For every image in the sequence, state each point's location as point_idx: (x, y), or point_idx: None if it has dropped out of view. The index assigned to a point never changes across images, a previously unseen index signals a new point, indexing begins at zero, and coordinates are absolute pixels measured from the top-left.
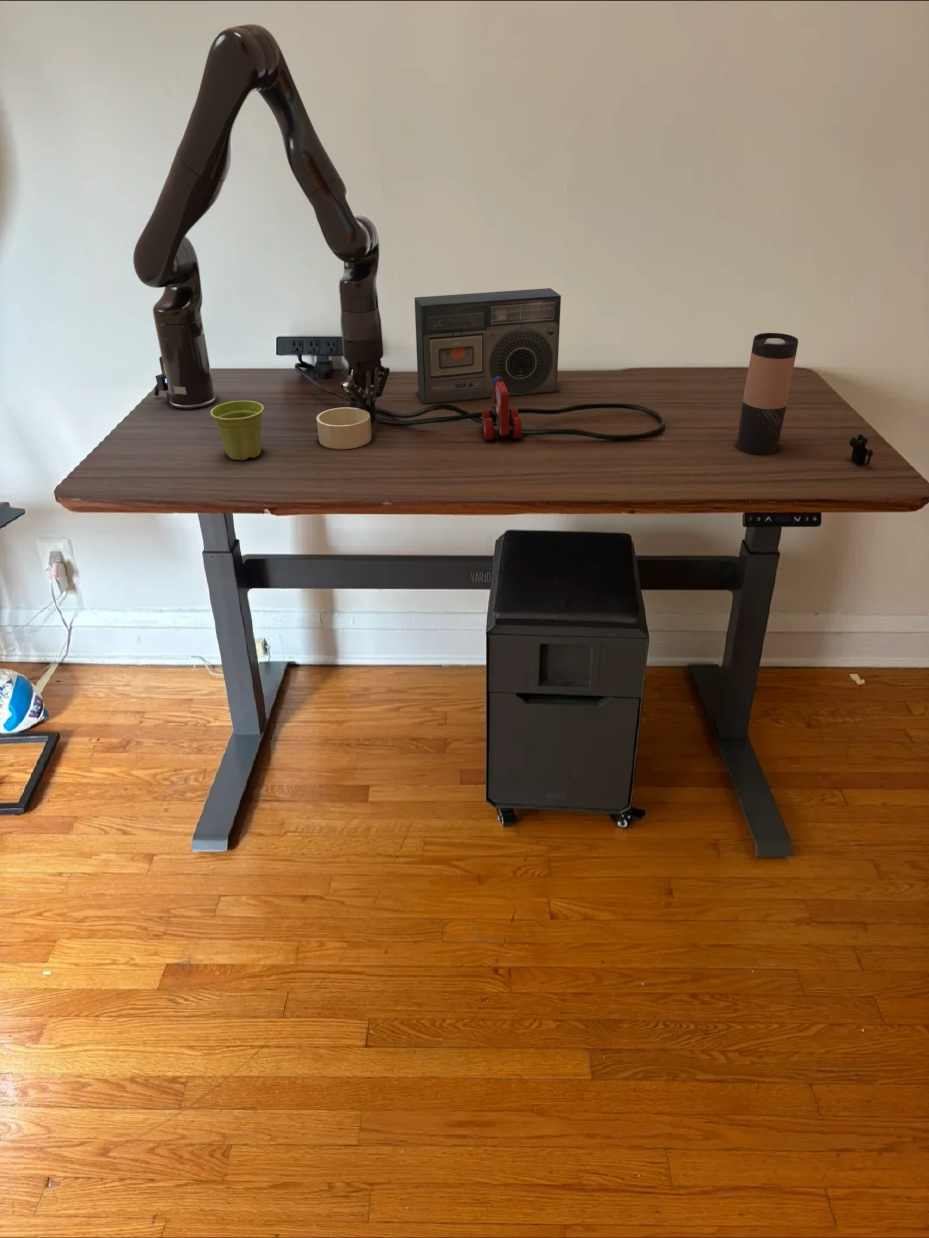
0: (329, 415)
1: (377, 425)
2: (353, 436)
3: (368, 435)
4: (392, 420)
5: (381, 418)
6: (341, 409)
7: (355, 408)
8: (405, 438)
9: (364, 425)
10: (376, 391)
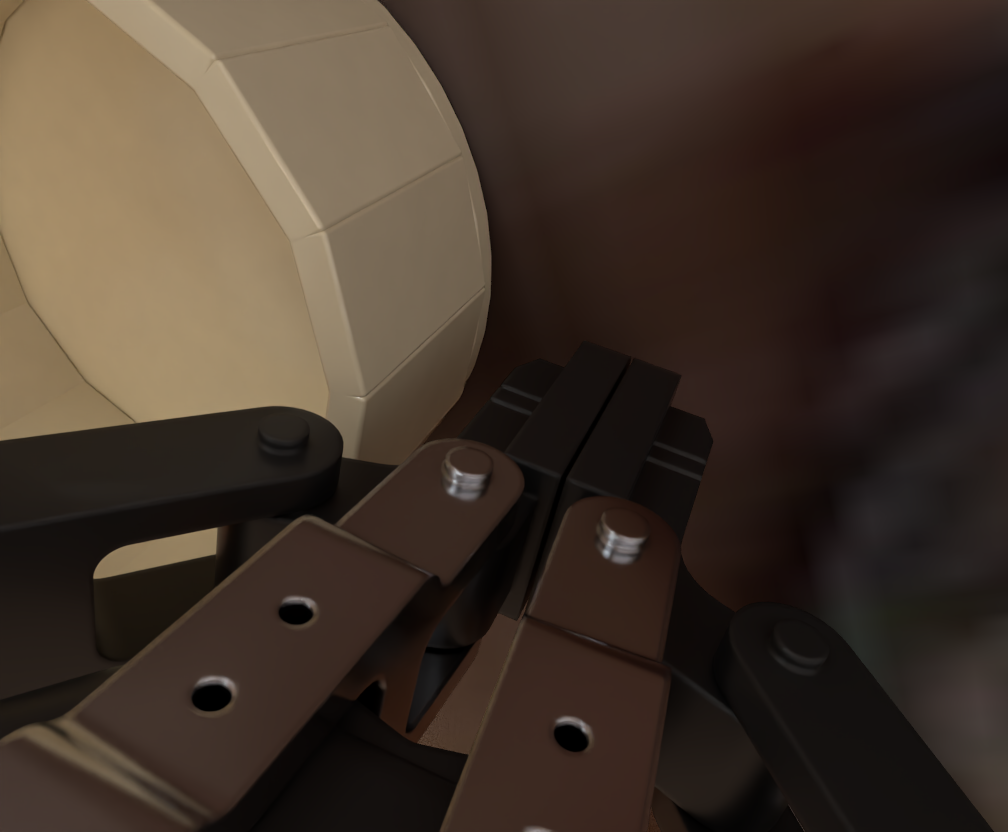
0: None
1: (715, 455)
2: None
3: None
4: (928, 586)
5: (994, 448)
6: (256, 170)
7: (338, 403)
8: (460, 736)
9: None
10: (677, 806)
